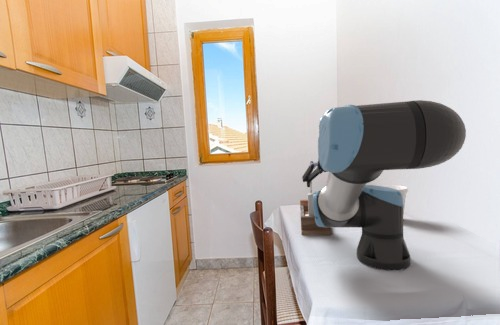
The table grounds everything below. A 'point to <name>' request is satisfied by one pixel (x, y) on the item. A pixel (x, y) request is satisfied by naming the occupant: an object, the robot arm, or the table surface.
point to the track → (310, 222)
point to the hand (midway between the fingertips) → (326, 190)
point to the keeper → (310, 205)
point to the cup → (401, 189)
